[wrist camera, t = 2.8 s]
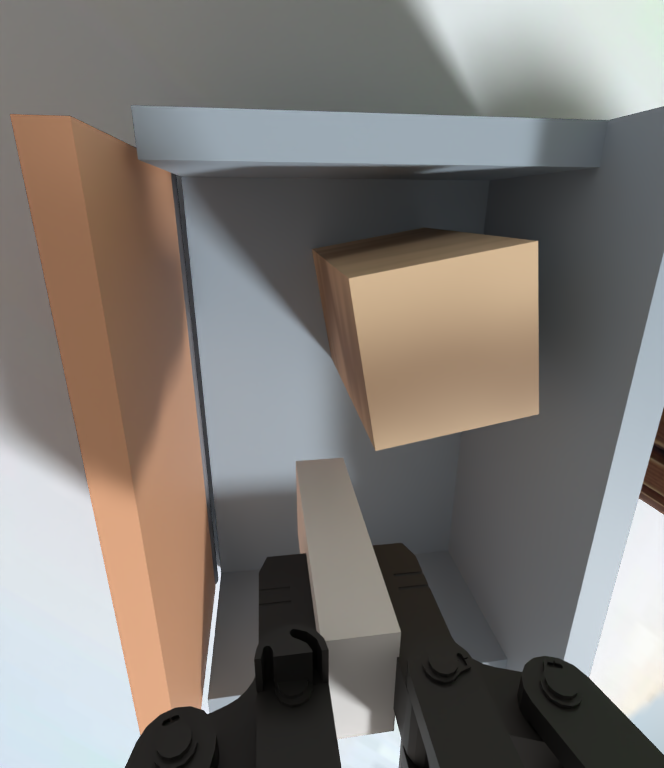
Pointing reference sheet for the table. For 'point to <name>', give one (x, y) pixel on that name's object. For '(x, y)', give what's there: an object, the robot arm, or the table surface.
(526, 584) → the box
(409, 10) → the table surface
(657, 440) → the mug
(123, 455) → the panel
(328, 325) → the wooden block
